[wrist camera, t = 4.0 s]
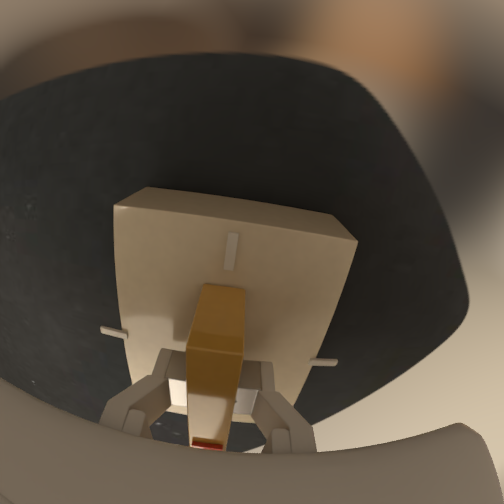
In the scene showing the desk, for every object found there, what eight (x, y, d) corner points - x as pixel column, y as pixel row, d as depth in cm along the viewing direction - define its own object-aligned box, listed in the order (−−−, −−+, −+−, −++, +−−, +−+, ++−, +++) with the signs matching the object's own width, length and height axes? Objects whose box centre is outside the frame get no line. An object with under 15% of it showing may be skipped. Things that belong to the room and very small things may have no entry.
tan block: (125, 184, 12) (86, 203, 9) (353, 219, 13) (385, 247, 9) (135, 362, 17) (119, 401, 13) (295, 384, 18) (301, 426, 14)
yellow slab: (203, 282, 10) (183, 353, 7) (246, 288, 10) (244, 361, 7) (198, 394, 13) (188, 454, 9) (228, 398, 13) (224, 459, 9)
